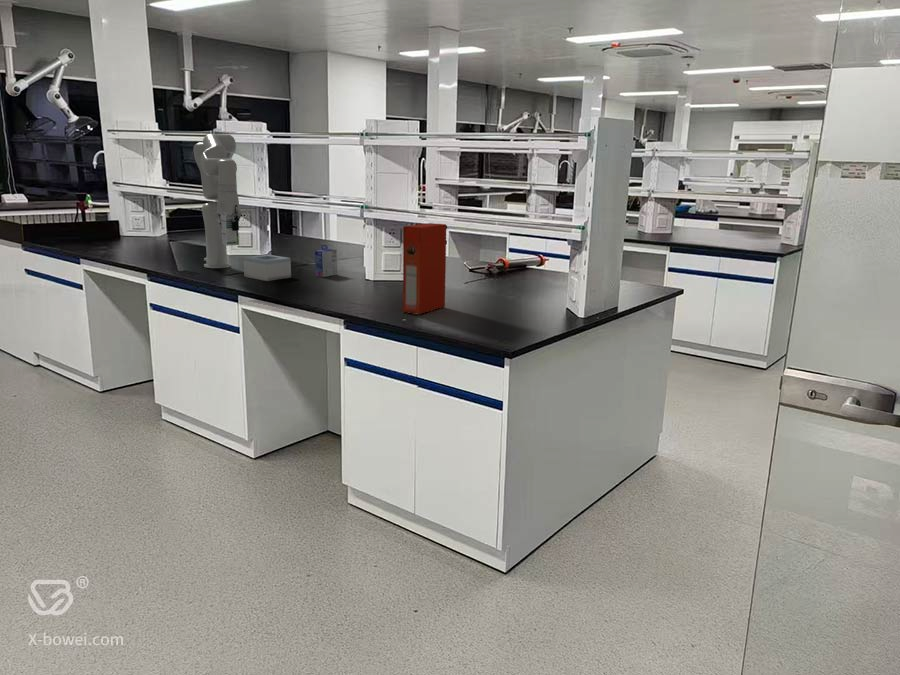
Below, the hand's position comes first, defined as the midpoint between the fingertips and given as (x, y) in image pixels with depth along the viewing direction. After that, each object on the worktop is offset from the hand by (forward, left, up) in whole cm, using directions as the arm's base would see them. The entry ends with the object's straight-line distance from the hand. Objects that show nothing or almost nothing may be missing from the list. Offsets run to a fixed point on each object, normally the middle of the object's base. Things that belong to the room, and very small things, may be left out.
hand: (229, 229), depth 303 cm
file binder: (+102, +9, -23) cm, 105 cm away
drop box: (+6, +15, -22) cm, 28 cm away
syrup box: (0, 0, -7) cm, 7 cm away
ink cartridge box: (+22, +37, -23) cm, 49 cm away
